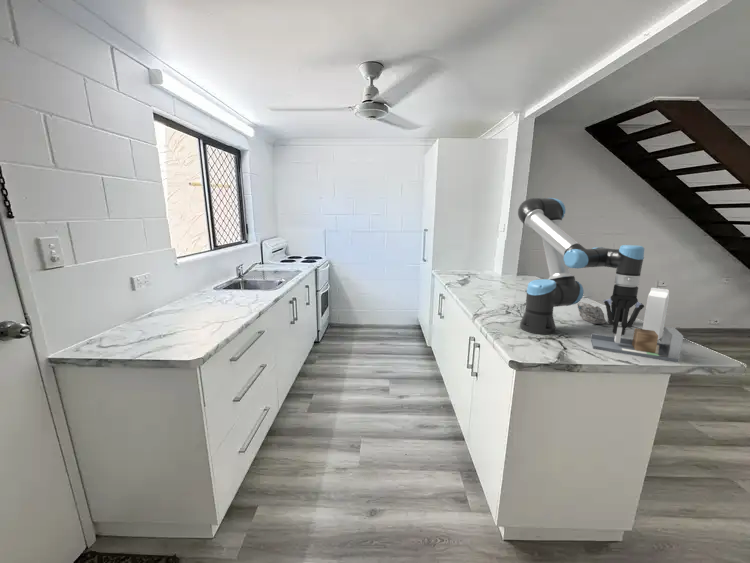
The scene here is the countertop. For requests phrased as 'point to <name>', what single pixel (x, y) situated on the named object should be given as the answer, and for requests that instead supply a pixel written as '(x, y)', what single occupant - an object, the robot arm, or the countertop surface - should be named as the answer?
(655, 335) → the block
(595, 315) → the rock
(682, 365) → the countertop surface
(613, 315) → the dixie cup
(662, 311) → the milk
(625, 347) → the gauge track
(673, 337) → the grey metal block
